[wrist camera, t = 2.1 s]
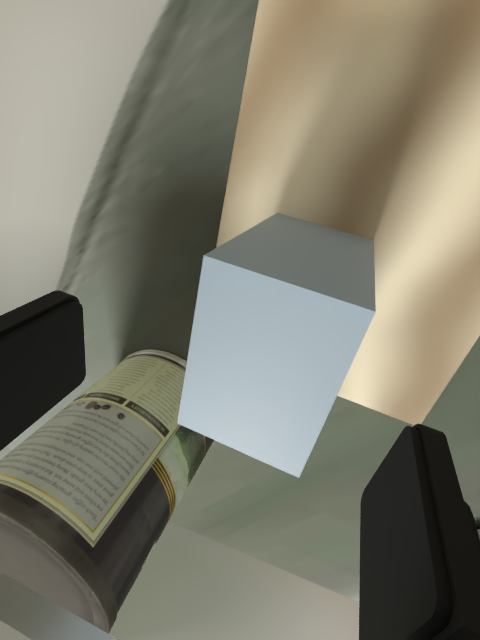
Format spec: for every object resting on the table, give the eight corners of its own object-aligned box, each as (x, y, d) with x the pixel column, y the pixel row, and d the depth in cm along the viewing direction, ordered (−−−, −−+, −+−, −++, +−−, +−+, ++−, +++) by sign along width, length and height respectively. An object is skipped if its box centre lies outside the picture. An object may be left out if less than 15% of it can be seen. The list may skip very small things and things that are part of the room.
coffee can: (248, 433, 27) (147, 655, 15) (162, 458, 32) (36, 638, 20) (173, 327, 25) (-11, 484, 13) (95, 371, 30) (-89, 514, 18)
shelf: (692, -24, 11) (795, -83, 8) (415, 410, 21) (422, 448, 18) (283, -68, 14) (262, -123, 11) (208, 332, 24) (187, 354, 21)
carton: (374, 240, 16) (375, 311, 9) (326, 354, 20) (298, 477, 12) (271, 211, 17) (193, 252, 10) (243, 324, 21) (170, 420, 13)
